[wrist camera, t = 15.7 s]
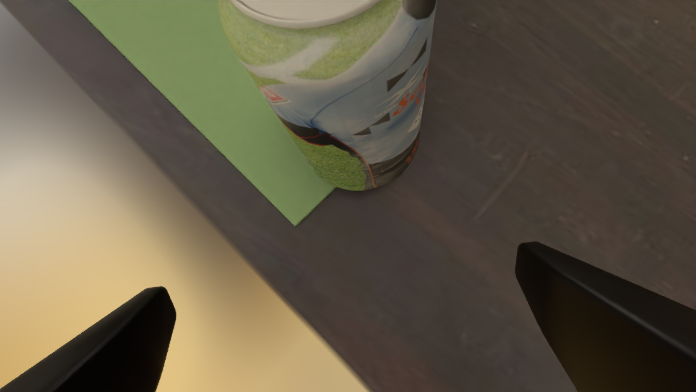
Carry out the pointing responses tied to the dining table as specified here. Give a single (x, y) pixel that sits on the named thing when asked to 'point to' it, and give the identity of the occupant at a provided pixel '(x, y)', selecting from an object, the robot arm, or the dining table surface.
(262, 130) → the green mat
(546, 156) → the dining table surface
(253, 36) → the beverage can
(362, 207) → the dining table surface
